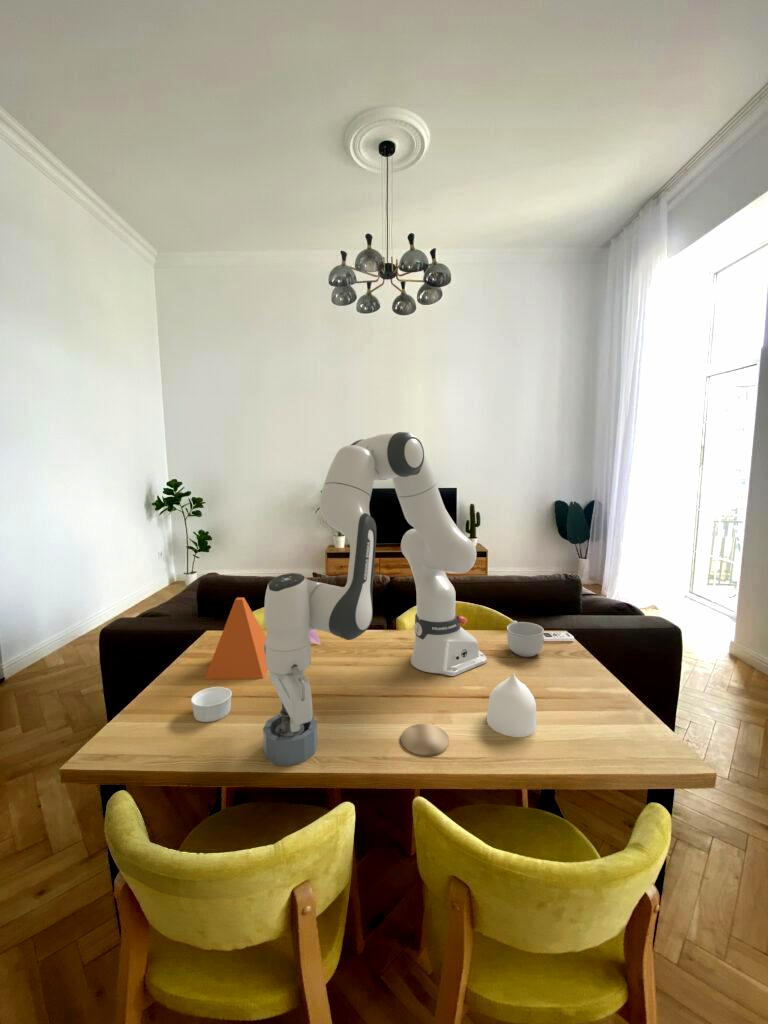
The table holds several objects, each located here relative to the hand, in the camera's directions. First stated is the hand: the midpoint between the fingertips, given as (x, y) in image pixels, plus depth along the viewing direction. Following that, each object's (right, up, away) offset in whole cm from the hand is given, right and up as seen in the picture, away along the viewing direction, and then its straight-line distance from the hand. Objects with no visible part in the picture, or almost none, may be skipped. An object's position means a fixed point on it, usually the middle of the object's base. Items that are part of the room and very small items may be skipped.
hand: (290, 721), depth 91 cm
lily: (-7, 0, +54) cm, 54 cm away
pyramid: (-22, -2, +38) cm, 44 cm away
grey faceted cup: (0, -6, +1) cm, 6 cm away
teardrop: (+48, -5, +10) cm, 49 cm away
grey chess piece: (0, -6, +1) cm, 6 cm away
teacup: (+62, -1, +48) cm, 79 cm away
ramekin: (-21, -5, +14) cm, 25 cm away
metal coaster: (+28, -6, +3) cm, 28 cm away
